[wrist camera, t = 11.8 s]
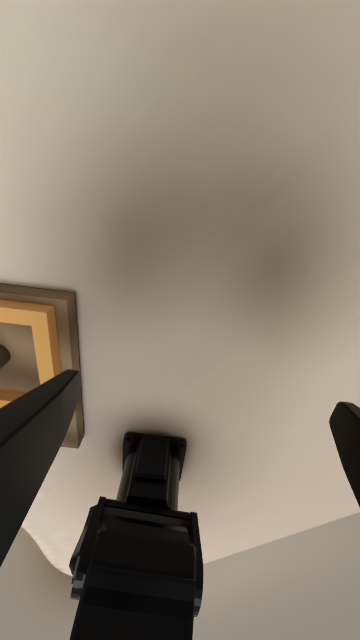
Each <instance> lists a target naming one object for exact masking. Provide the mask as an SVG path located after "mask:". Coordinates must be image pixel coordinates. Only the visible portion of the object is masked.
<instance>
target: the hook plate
mask: <svg viewBox="0 0 360 640" xmlns="http://www.w3.org/2000/svg"><path fill="white" fill-rule="evenodd" d="M0 299H1V300H9V301H17V302H25V303H33V304H42V305H50V306H54V308H55V318H56V327H57V337H58V347H59V357H60V366H61V372H63V371H65V370H67V369H73V370H79V371H80V367H79V351H78V335H77V319H76V304H75V293H69V292H61V291H53V290H45V289H36V288H28V287H20V286H12V285H4V284H0ZM39 385H40V380H39V373H38V367H37V360H36V353H35V347H34V340H33V333H32V327H31V326H28V325H20V324H12V323H3V322H0V389H1V390H10V391H18V392H29V391H30V390H32V389H34V388H36V387H37V386H39ZM83 437H84V430H83V414H82V399H81V396H80V398H79V401H78V404H77V407H76V409H75V412H74V415H73V418H72V420H71V423H70V426H69V428H68V431H67V434H66V436H65V438H64V440H63V443H62V445H61V447H70V448H79V446H80V444H81V441H82V439H83Z"/></svg>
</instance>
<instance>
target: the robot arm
mask: <svg viewBox="0 0 360 640" xmlns="http://www.w3.org/2000/svg"><path fill="white" fill-rule="evenodd" d="M81 391H82V387H81V373H80V371H79V370H73V369H67V370H65V371H63V372H61V373H60V374H58V375H56V376H55V377H53V378H51V379H49V380H48V381H46V382H44V383H42V384H41V385H39V386H37V387H36V388H34V389H32V390H30V391H29V392H27V393H25V394H24V395H22V396H20V397H18V398H17V399H15V400H13V401H11V402H10V403H8V404H6V405H5V406H3V407H1V408H0V567H1V565H2V563H3V561H4V559H5V557H6V555H7V553H8V551H9V549H10V547H11V545H12V543H13V541H14V539H15V537H16V535H17V533H18V531H19V529H20V527H21V525H22V523H23V521H24V519H25V517H26V515H27V513H28V511H29V509H30V507H31V505H32V503H33V501H34V499H35V497H36V495H37V493H38V491H39V489H40V487H41V485H42V483H43V481H44V479H45V477H46V475H47V473H48V471H49V469H50V467H51V465H52V463H53V461H54V459H55V457H56V455H57V453H58V451H59V449H60V447H61V445H62V443H63V440H64V438H65V436H66V434H67V431H68V428H69V426H70V423H71V420H72V418H73V415H74V412H75V409H76V407H77V404H78V401H79V398H80V396H81ZM329 424H330V428H331V431H332V434H333V437H334V441H335V444H336V447H337V450H338V453H339V456H340V460H341V463H342V466H343V468H344V471H345V473H346V476H347V478H348V481H349V483H350V485H351V488H352V490H353V493H354V495H355V497H356V500H357V502H358V504H359V507H360V408H359V407H358V406H356V405H355V404H353V403H350V402H339V403H337V405H336V407H335V409H334V411H333V413H332V415H331V417H330V420H329ZM186 447H187V441H186V440H185V439H179V438H171V437H162V436H153V435H144V434H136V433H126V434H125V436H124V442H123V472H122V473H123V474H122V478H121V482H120V486H119V490H118V494H117V498H116V500H111V499H106V497H101V496H100V498H99V501H98V504H97V505H96V506H93V507H91V508H90V511H89V514H88V517H87V520H86V523H85V526H84V529H83V532H82V534H81V536H80V539H79V541H78V543H77V546H76V548H75V550H74V553H73V555H72V557H71V560H70V564H69V568H70V570H71V573H72V575H73V578H72V584H73V587H72V593H71V599H77V600H79V604H78V608H77V612H76V616H75V620H74V624H73V628H72V632H71V637H70V640H192V634H193V619H194V617H196V616H197V615H198V613H199V610H200V606H201V600H202V591H203V559H202V551H201V543H200V534H199V526H198V518H197V513H195V512H190V513H188V512H182V511H178V489H179V481H180V478H181V473H182V468H183V463H184V457H185V452H186Z"/></svg>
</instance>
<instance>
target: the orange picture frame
mask: <svg viewBox="0 0 360 640" xmlns="http://www.w3.org/2000/svg"><path fill="white" fill-rule="evenodd" d="M0 322H3V323H12V324H20V325H28V326H31V327H32V333H33V340H34V347H35V353H36V360H37V367H38V373H39V380H40V385H41V384H42V383H44V382H46V381H48V380H49V379H51V378H53V377H55V376H56V375H58V374H60V373H61V366H60V357H59V347H58V337H57V327H56V318H55V308H54V306H50V305H42V304H33V303H25V302H17V301H9V300H1V299H0ZM25 393H27V392H18V391H10V390H1V389H0V408H1V407H3V406H5V405H6V404H8V403H10V402H11V401H13V400H15V399H17V398H18V397H20V396H22V395H24V394H25Z"/></svg>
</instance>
